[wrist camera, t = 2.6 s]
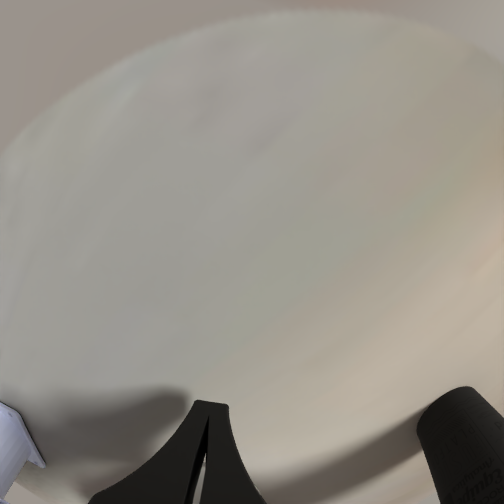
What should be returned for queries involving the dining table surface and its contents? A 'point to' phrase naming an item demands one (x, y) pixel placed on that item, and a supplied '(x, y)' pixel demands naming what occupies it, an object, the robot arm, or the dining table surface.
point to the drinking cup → (464, 448)
